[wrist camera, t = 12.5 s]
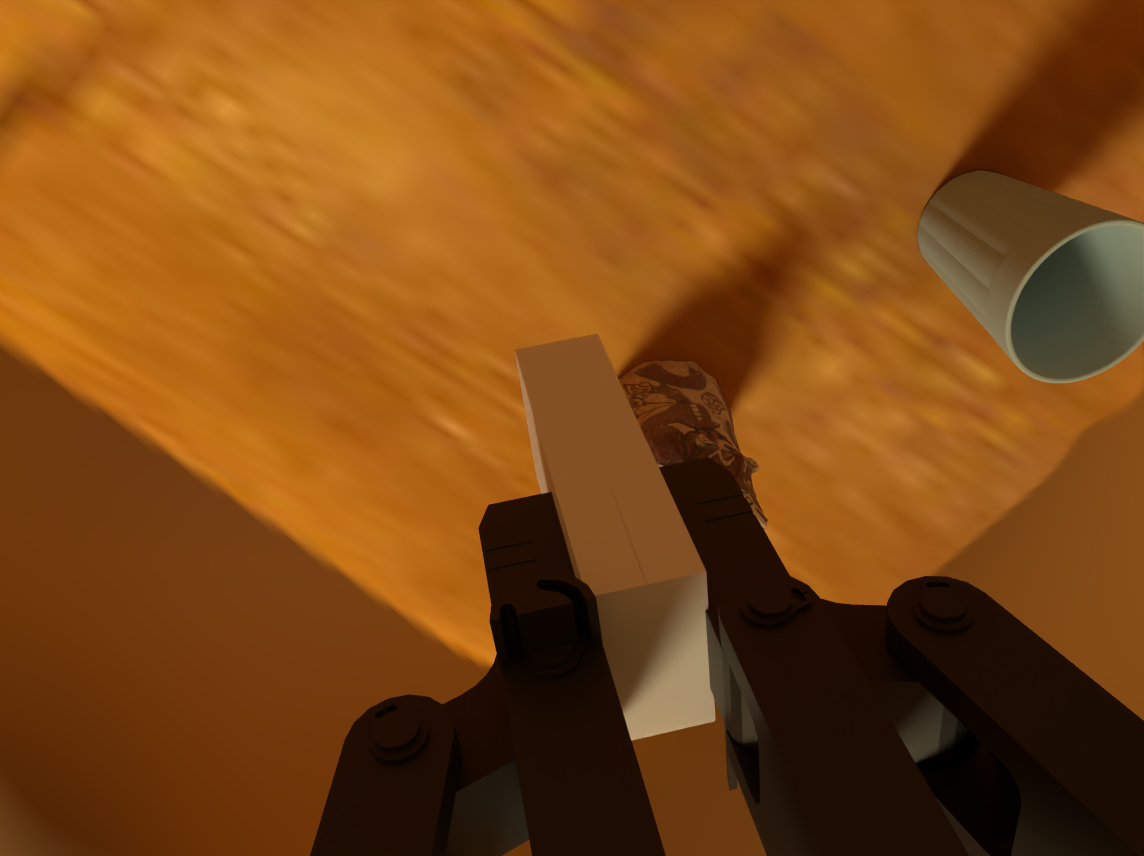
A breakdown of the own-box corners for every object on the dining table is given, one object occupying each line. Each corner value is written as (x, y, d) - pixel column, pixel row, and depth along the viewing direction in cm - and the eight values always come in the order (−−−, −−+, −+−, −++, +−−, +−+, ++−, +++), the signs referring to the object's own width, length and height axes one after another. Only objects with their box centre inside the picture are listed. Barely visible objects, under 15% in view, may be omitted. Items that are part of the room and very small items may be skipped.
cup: (868, 269, 52) (974, 361, 43) (944, 127, 48) (1075, 196, 40) (982, 306, 54) (1103, 400, 46) (1061, 174, 51) (1209, 248, 42)
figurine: (747, 402, 55) (836, 535, 45) (661, 490, 57) (727, 636, 47) (657, 334, 51) (730, 461, 41) (568, 430, 54) (618, 573, 44)
